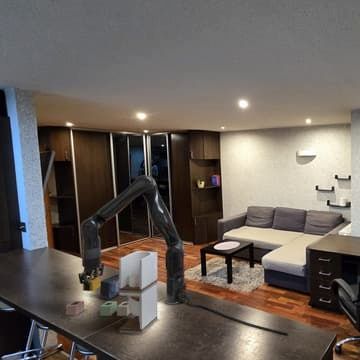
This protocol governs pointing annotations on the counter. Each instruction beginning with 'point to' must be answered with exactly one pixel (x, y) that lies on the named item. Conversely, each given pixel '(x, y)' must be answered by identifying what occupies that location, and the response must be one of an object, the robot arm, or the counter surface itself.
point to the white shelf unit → (139, 289)
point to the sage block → (108, 308)
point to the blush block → (75, 308)
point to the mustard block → (93, 284)
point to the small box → (109, 287)
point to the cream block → (123, 309)
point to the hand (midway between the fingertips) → (91, 287)
